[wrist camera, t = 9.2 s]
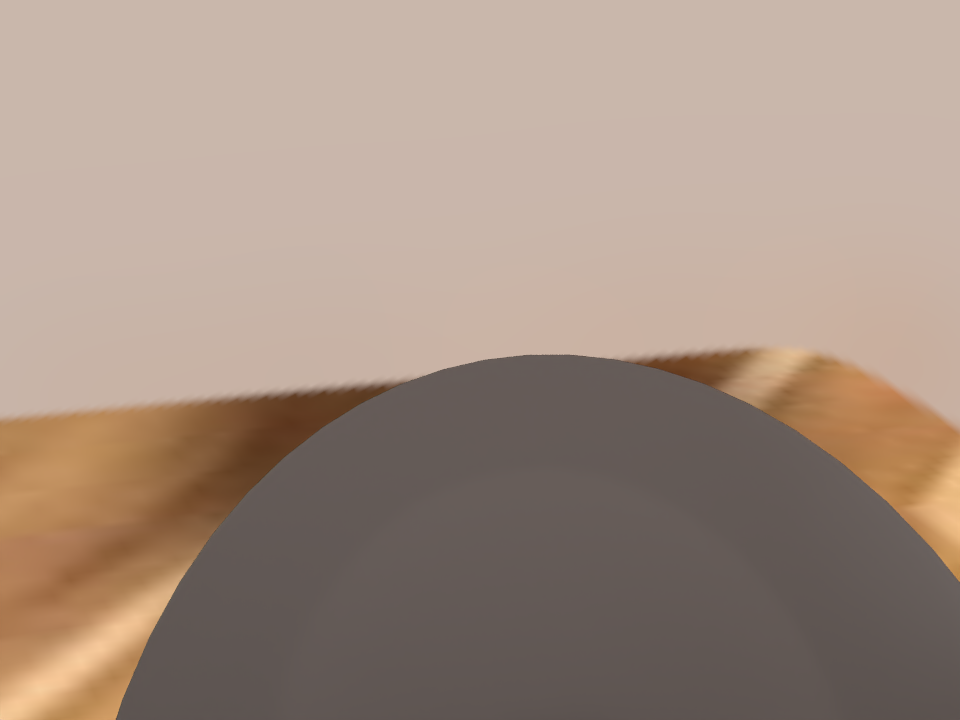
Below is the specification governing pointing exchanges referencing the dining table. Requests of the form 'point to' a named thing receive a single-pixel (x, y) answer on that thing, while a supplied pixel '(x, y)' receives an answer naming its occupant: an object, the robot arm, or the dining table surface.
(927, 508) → the dining table surface
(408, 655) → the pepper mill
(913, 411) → the dining table surface
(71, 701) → the dining table surface
